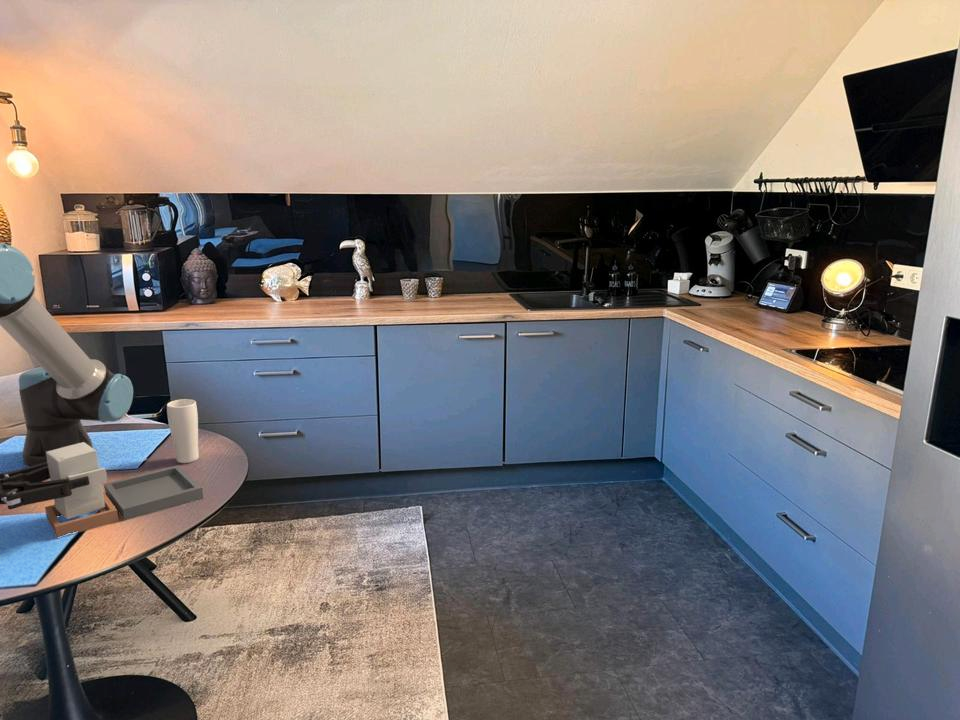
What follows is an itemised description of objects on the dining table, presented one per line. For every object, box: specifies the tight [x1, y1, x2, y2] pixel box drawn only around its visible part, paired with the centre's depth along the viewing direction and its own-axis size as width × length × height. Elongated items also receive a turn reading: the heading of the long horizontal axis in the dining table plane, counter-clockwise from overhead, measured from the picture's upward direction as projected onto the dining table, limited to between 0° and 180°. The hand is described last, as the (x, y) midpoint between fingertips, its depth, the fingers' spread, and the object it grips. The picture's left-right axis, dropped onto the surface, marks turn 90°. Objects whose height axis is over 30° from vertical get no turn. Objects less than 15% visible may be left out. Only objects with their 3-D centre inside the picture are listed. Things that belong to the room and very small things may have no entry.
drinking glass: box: [166, 398, 200, 464], centre depth 169 cm, size 7×7×15 cm
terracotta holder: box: [44, 491, 119, 539], centre depth 141 cm, size 11×11×2 cm
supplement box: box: [46, 442, 105, 520], centre depth 138 cm, size 7×7×13 cm
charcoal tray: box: [103, 464, 204, 521], centre depth 151 cm, size 16×16×2 cm
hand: (101, 467), depth 141 cm, fingers closed on supplement box, 8 cm apart
